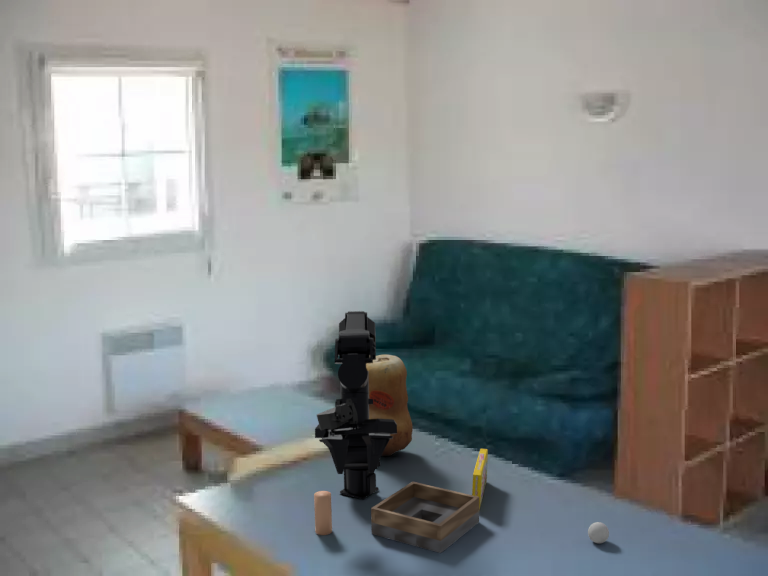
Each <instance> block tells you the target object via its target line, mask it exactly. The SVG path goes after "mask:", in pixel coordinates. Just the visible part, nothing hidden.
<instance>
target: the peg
mask: <svg viewBox="0 0 768 576" xmlns="http://www.w3.org/2000/svg"><path fill="white" fill-rule="evenodd" d="M313 499H314V501H313V503H314V505H313V506H314V527H315V529H314V530H315V531H314V532H315V534H316V535H319V536H327V535H330V534H332V533H333V518H332V517H333V515H332V511H333V510H332V492H330V491H327V490H319V491H316V492H315V493H314V494H313Z"/></svg>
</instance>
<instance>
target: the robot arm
mask: <svg viewBox="0 0 768 576" xmlns="http://www.w3.org/2000/svg"><path fill="white" fill-rule="evenodd" d="M376 338H377V337H376V323H375V322H374V321H373V320H372V319H371V318H370V317H368V312H367V311H363V310H359V311H358V310H357V311H354V310H353V311H351V310H349V311H347V312H345V313H344V318H343V319H342V320H341V321H340V322H339V323H338V338H335V339H334V341H335V343H334V344H335V345H334V364H336V365H339V368H338V370H337V376H338V380H339V382H340V398H338V399H336V400H335V401H334V407H332V408H329V409H327V410H324V411H322V412H319V413H317V414H316V419H317V422H318V424H317V426H316V427H315V428H314V439H319V440H318V441H319V442H320V443H322V444H324V445H325V446H326V447H327V449H328V451H329V453H330V455H331V458H332V462H333V463H334V464H333V465H334V467H335V470H336V473H337V475H342V474H343V489H341V490H340V491H339V494H340V495H344V496H347V497H352V498H357V499H360V500H364V499H366V498H368V497H370V496H372V495H373V494H376V492H378V491H380V489H379V487H378V486H377V474H376V472H375V471H376V470H378V468H379V467H381V464H382V463H381V457H382V454H383V451H384V450H385V448H386V446H387V444H388V442H389V440H390V439H393V436H390V434H397V424H396V422H395V421H394V419H378V418H377V419H369V405H370V404H373V399H369V371H368V370H367V368H366V364H367V363H373V360H376V356H377V349H376V347H377V344H376V342H377V341H376V340H377V339H376Z"/></svg>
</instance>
